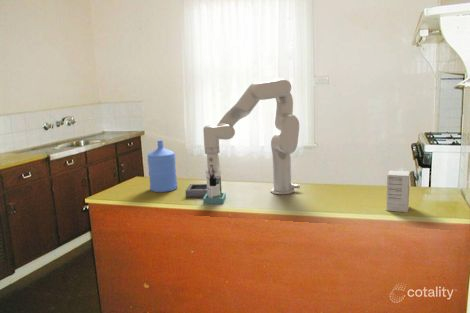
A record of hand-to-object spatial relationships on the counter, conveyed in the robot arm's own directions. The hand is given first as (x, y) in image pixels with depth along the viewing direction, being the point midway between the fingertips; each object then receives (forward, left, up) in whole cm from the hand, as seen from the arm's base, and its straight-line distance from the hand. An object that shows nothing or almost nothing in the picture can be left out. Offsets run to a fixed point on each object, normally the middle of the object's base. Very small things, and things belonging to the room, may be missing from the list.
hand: (214, 183), depth 221 cm
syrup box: (0, 0, -8) cm, 8 cm away
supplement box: (-87, +17, -9) cm, 89 cm away
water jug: (+33, -24, -9) cm, 42 cm away
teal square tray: (0, 0, -9) cm, 9 cm away
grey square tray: (+10, -12, -9) cm, 18 cm away
